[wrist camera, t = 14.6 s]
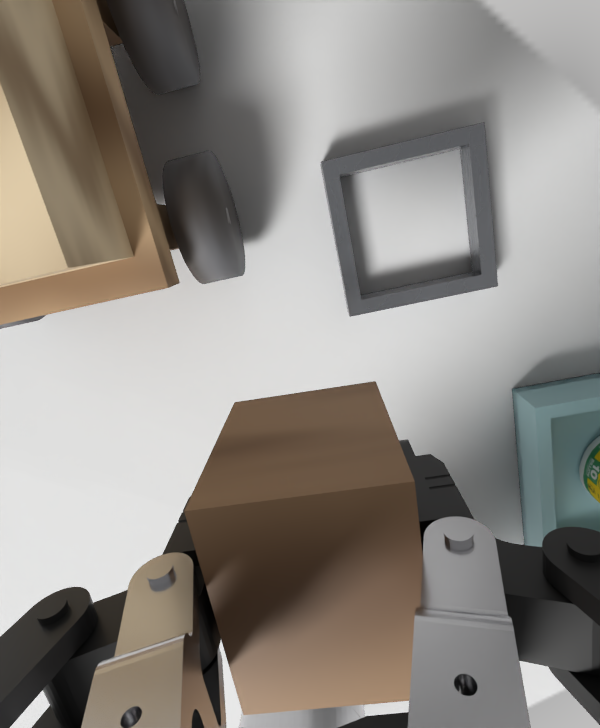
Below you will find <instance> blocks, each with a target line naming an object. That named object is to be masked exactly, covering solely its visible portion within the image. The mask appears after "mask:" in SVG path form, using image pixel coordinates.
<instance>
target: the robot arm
mask: <svg viewBox="0 0 600 728" xmlns="http://www.w3.org/2000/svg"><path fill="white" fill-rule="evenodd" d="M399 443H400V445H401V448H402V450H403V453H404V455H405V458H406V461H407V463H408V466H409V468H410V471H411V473H412V476H413V478H414V481H415V489H416V498H417V507H418V516H419V525H420V534H421V544H422V553H423V561H422V582H421V602H420V607H416V610H415V619H414V634H413V651H412V667H411V683H410V699H409V712H407V713H396V714H386V715H375V716H366V717H365V713H364V705H353V706H342V707H331V708H320V709H309V710H297V711H286V712H275V713H264V714H253V715H243V712H241V719H240V725H239V728H531V726H530V721H529V715H528V709H527V703H526V697H525V691H524V686H523V680H522V674H521V668H520V663H519V661H524V662H529V663H534V664H539V665H544V666H548V667H549V669H550V670H551V672H552V673H553V674H554V676H555V677H556V678H557V679H558V680H559V681H560V682H561V683H562V684H563V686H564V687H565V688H566V689H567V690H568V691H569V692H570V693H571V694H572V695H573V696H574V697H575V699H577V701H578V702H579V703H580V704H581V705H582V706H583V707H584V708H585V709H586V710H587V712H588V713H589V714H590V715H591V716H592V717H593V718H594V719H595V720H596V721H597V722H598V723H599V725H600V532H599V531H596V530H592V529H588V528H582V527H562V528H558V529H555V530H553V531H551V532H549V533H548V534H547V535H546V536H545V537H544V538H543V541H542V547H537V546H528V545H519V544H512V543H508V542H504V541H501V540H498V539H496V538H495V537H494V535H493V533H492V531H491V530H490V529H489V528H488V527H487V526H485V525H484V524H482V523H481V522H478V521H476V520H474V518H473V516H472V514H471V513H470V511H469V509H468V507H467V505H466V503H465V502H464V500H463V498H462V496H461V494H460V492H459V491H458V489H457V487H456V486H455V483H454V481H453V480H452V478H451V477H450V474H449V472H448V470H447V469H446V467H445V465H444V463H443V462H441V461H440V460H438V459H437V458H435V457H434V456H432V455H431V454H428V455H421V456H415V454H414V452H413V450H412V448H411V445H410V443H409V441H408V440H400V441H399ZM190 498H191V497H190ZM190 498H189V499H188V501H187V503H186V505H185V508H186V506H187V504H188V502H189V500H190ZM185 508H184V510H183V513H182V514H181V516H180V518H179V520H178V521H179V523H177V525H176V527H175V529H174V531H173V533H172V535H171V538H170V540H169V542H168V544H167V546H166V548H165V550H164V552H163V555H161V556H158V557H156V558H154V559H152V560H150V561H148V562H147V563H146V564H144V565H143V566H142V567H141V568H139V569H138V571H137V572H136V573H135V574H134V575H133V577H132V579H131V580H130V583H129V587H128V590H126V591H124V592H121V593H119V594H116V595H113V596H111V597H108V598H105V599H102V600H100V601H97V602H94V603H93V602H92V599H91V597H90V594H89V592H88V591H87V590H86V589H84V588H81V587H71V588H66V589H63V590H60V591H57V592H55V593H53V594H51V595H49V596H47V597H46V598H44V599H42V600H41V601H40V602H38V603H37V604H36V605H34V606H33V607H32V608H31V609H30V610H29V611H28V612H27V613H26V614H25V615H23V616H22V617H21V618H20V619H19V620H18V621H17V622H16V623H15V624H14V625H13V626H12V627H10V628H9V629H8V630H7V631H6V632H5V633H4V634H3V635H2V636H1V637H0V728H10V726H11V725H12V724H13V723H14V722H15V721H16V720H17V718H18V717H19V716H20V715H21V714H22V713H23V712H24V710H25V709H26V708H27V707H28V706H29V705H30V704H31V702H32V701H33V700H34V699H35V698H36V697H37V696H38V694H39V693H40V692H41V691H42V690H43V691H44V693H45V695H46V697H47V700H48V702H49V704H50V706H49V708H48V709H47V710H46V711H45V712H44V714H43V715H42V716H41V717H40V718H39V720H38V721H37V722H36V723H35V724H34V726H33V727H32V728H226V713H225V697H224V681H223V665H222V656H221V652H220V649H219V644H220V640H221V636H220V633H219V629H218V626H217V622H216V619H215V616H214V612H213V609H212V605H211V602H210V598H209V595H208V592H207V588H206V585H205V581H204V578H203V574H202V571H201V567H200V564H199V561H198V557H197V554H196V550H195V547H194V543H193V540H192V537H191V533H190V530H189V526H188V523H187V519H186V516H185V512H184V511H185Z"/></svg>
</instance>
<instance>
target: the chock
mask: <svg viewBox="0 0 600 728" xmlns="http://www.w3.org/2000/svg"><path fill="white" fill-rule="evenodd" d="M184 512H185V516H186V519H187V523H188V526H189V530H190V533H191V537H192V540H193V543H194V547H195V550H196V554H197V557H198V561H199V564H200V567H201V571H202V574H203V578H204V581H205V585H206V588H207V592H208V595H209V598H210V602H211V605H212V609H213V612H214V616H215V619H216V622H217V626H218V629H219V633H220V636H221V640H222V643H223V647H224V650H225V653H226V657H227V660H228V664H229V667H230V671H231V674H232V677H233V681H234V684H235V688H236V691H237V695H238V698H239V702H240V705H241V708H242V712H243V715H253V714H264V713H275V712H286V711H297V710H309V709H320V708H331V707H342V706H353V705H365V704H376V703H387V702H398V701H409V699H410V683H411V667H412V651H413V634H414V619H415V610H416V607H420V602H421V582H422V561H423V553H422V544H421V534H420V525H419V516H418V507H417V498H416V489H415V481H414V478H413V476H412V473H411V471H410V468H409V466H408V463H407V461H406V458H405V455H404V453H403V450H402V448H401V445H400V443H399V440H398V438H397V435H396V433H395V430H394V427H393V425H392V422H391V420H390V417H389V415H388V412H387V410H386V407H385V404H384V402H383V399H382V397H381V394H380V392H379V389H378V387H377V384H376V382H368V383H361V384H355V385H348V386H341V387H334V388H328V389H321V390H314V391H308V392H301V393H294V394H288V395H281V396H274V397H268V398H261V399H254V400H248V401H241V402H235V403H234V405H233V407H232V409H231V411H230V414H229V416H228V418H227V420H226V422H225V424H224V426H223V429H222V431H221V433H220V435H219V437H218V439H217V442H216V444H215V446H214V448H213V450H212V452H211V454H210V457H209V459H208V461H207V463H206V465H205V467H204V470H203V472H202V474H201V476H200V478H199V480H198V483H197V485H196V487H195V489H194V491H193V493H192V495H191V498H190V500H189V502H188V504H187V506H186V508H185V511H184Z"/></svg>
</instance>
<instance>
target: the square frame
mask: <svg viewBox="0 0 600 728" xmlns="http://www.w3.org/2000/svg"><path fill="white" fill-rule="evenodd" d="M457 149H460V154H461V164H462V174H463V184H464V194H465V204H466V214H467V224H468V234H469V244H470V254H471V265H472V272H470V273H465V274H460V275H455V276H451V277H446V278H441V279H436V280H432V281H427V282H422V283H417V284H412V285H408V286H403V287H398V288H393V289H389V290H384V291H379V292H374V293H370V294H365V295H360V289H359V283H358V278H357V272H356V266H355V260H354V255H353V249H352V243H351V238H350V232H349V226H348V221H347V215H346V209H345V204H344V198H343V192H342V187H341V181H340V177H343V176H347V175H351V174H356V173H360V172H364V171H368V170H373V169H377V168H381V167H385V166H389V165H394V164H398V163H402V162H406V161H411V160H415V159H419V158H423V157H427V156H432V155H436V154H440V153H444V152H448V151H453V150H457ZM321 170H322V175H323V180H324V186H325V191H326V197H327V202H328V207H329V213H330V218H331V223H332V229H333V234H334V239H335V245H336V250H337V255H338V261H339V266H340V272H341V277H342V282H343V288H344V293H345V298H346V304H347V309H348V313H349V316H355V315H360V314H365V313H370V312H375V311H380V310H384V309H389V308H394V307H399V306H404V305H409V304H414V303H418V302H423V301H428V300H433V299H438V298H443V297H448V296H453V295H457V294H462V293H467V292H472V291H477V290H482V289H487V288H491V287H496V286H498V282H497V270H496V258H495V246H494V234H493V221H492V209H491V197H490V185H489V173H488V161H487V149H486V137H485V125H484V123H479V124H475V125H471V126H467V127H463V128H459V129H455V130H450V131H446V132H442V133H438V134H434V135H430V136H426V137H421V138H417V139H413V140H409V141H405V142H401V143H397V144H392V145H388V146H384V147H380V148H376V149H372V150H368V151H363V152H359V153H355V154H351V155H347V156H343V157H339V158H334V159H330V160H326V161H322V162H321Z"/></svg>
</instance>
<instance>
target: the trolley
mask: <svg viewBox="0 0 600 728" xmlns="http://www.w3.org/2000/svg"><path fill="white" fill-rule="evenodd" d="M122 43H123V44H124V46H125V49H126V51H127V53H128V55H129V57H130V59H131V61H132V63H133V65H134V67H135V68H136V70H137V72H138V74H139V75H140V77H141V78H142V80H143V81H144V83H145V84H146V86H147V87H148V88H149V89H150V90H151V91H152V92H153V93H154V94H157V95H159V94H163V93H166V92H170V91H174V90H178V89H181V88H185V87H189V86H193V85H196V84H199V82H200V68H199V61H198V55H197V50H196V45H195V41H194V37H193V33H192V29H191V25H190V21H189V17H188V14H187V10H186V7H185V3H184V0H0V329H1V328H6V327H10V326H15V325H20V324H24V323H29V322H33V321H38V320H40V319H42V318H43V317H44V316H46V315H47V314H51V313H56V312H61V311H65V310H70V309H74V308H79V307H83V306H88V305H92V304H97V303H101V302H106V301H110V300H115V299H119V298H124V297H128V296H133V295H138V294H142V293H147V292H151V291H156V290H160V289H165V288H169V287H171V286H173V285H176V284H178V283H179V279H178V276H177V273H176V269H175V266H174V262H173V259H172V256H171V252H170V250H174V249H179V250H180V252H181V254H182V256H183V259H184V261H185V263H186V265H187V266H188V268H189V270H190V271H191V273H192V274H193V276H194V277H195V278H196V279H197V280H198V281H199V282H200V283H202V284H206V283H211V282H215V281H220V280H224V279H229V278H233V277H238V276H242V275H243V274H244V272H245V253H244V245H243V239H242V234H241V229H240V224H239V220H238V216H237V212H236V208H235V204H234V201H233V198H232V194H231V191H230V188H229V185H228V182H227V180H226V177H225V175H224V172H223V170H222V167H221V165H220V163H219V161H218V159H217V158H216V156H215V155H214V153H213V152H211V151H207V152H203V153H199V154H195V155H191V156H187V157H183V158H179V159H175V160H171V161H167V162H166V163H165V166H164V169H163V189H164V197H165V202H166V205H160V204H156V201H155V198H154V195H153V191H152V188H151V185H150V181H149V178H148V174H147V171H146V168H145V164H144V161H143V157H142V154H141V151H140V147H139V144H138V141H137V137H136V134H135V130H134V127H133V124H132V120H131V117H130V114H129V110H128V107H127V103H126V100H125V97H124V93H123V90H122V86H121V83H120V80H119V76H118V73H117V70H116V66H115V63H114V59H113V56H112V53H111V49H110V47H111V46H115V45H118V44H122Z"/></svg>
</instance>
